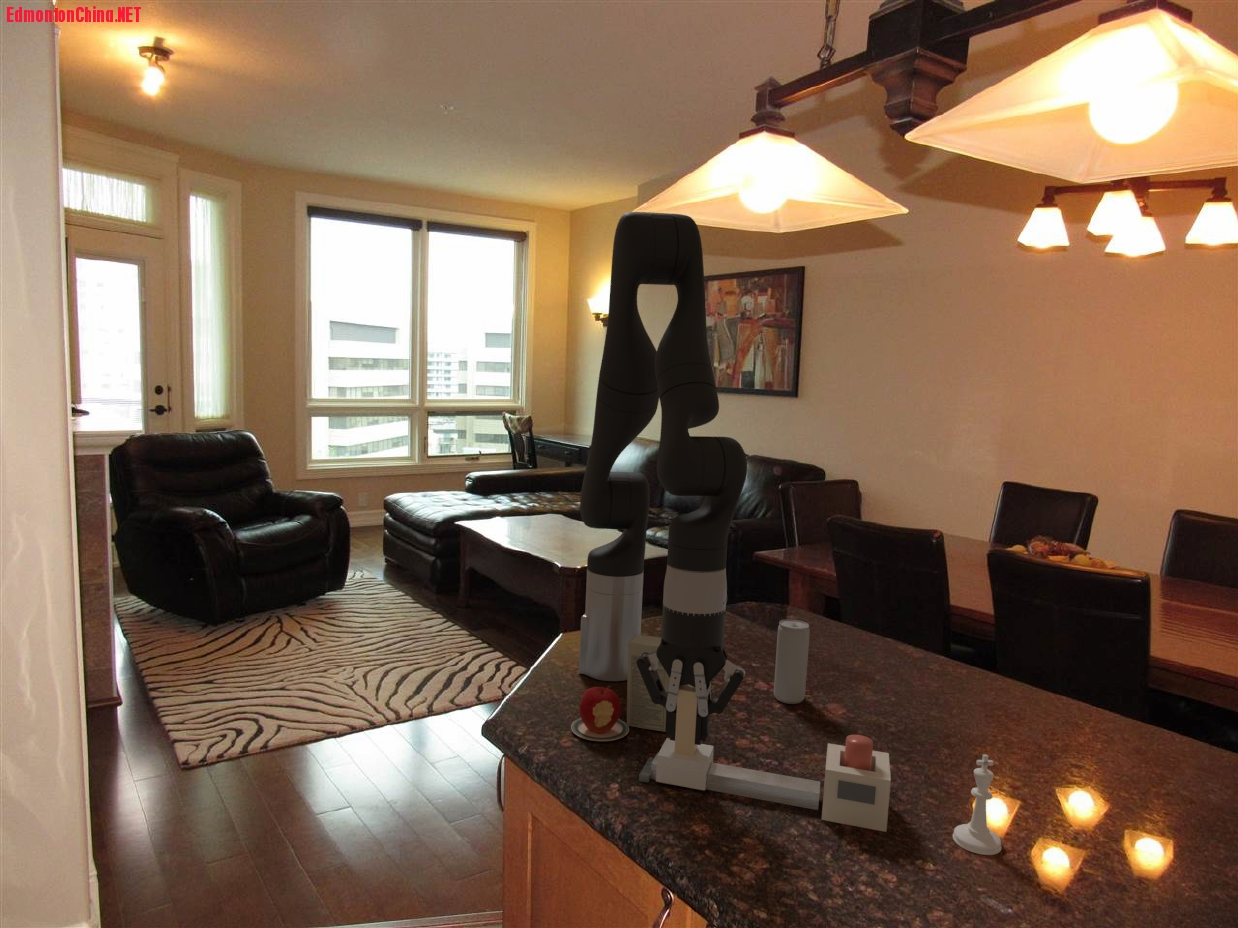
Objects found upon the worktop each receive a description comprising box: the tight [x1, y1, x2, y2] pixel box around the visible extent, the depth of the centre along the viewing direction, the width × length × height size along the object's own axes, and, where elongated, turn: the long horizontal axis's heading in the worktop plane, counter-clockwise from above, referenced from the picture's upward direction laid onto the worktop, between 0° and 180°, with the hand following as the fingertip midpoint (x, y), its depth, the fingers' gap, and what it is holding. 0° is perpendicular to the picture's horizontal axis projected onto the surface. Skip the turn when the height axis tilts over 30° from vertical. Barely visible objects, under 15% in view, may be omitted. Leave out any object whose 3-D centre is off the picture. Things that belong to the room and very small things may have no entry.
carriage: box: [655, 685, 715, 791], centre depth 100 cm, size 6×5×11 cm
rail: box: [638, 752, 821, 811], centre depth 100 cm, size 21×5×2 cm, turn 74°
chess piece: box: [952, 753, 1003, 856], centre depth 90 cm, size 5×5×10 cm
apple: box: [570, 685, 630, 742], centre depth 113 cm, size 8×8×6 cm
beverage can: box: [773, 619, 811, 705], centre depth 127 cm, size 5×5×12 cm
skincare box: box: [626, 634, 670, 733], centre depth 116 cm, size 6×4×12 cm
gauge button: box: [844, 734, 874, 771], centre depth 95 cm, size 3×3×5 cm
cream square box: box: [821, 742, 892, 833], centre depth 95 cm, size 7×7×6 cm
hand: (686, 739), depth 101 cm, fingers closed on carriage, 2 cm apart
